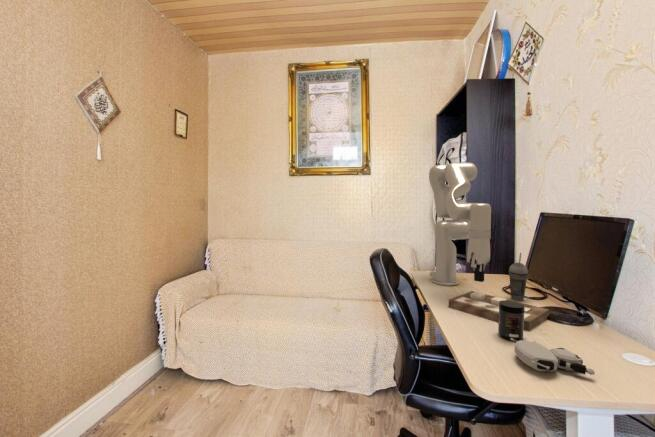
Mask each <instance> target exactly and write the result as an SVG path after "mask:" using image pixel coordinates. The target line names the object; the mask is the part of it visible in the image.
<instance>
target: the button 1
mask: <svg viewBox="0 0 655 437" xmlns="http://www.w3.org/2000/svg"><path fill="white" fill-rule="evenodd" d="M477 292H478V291H474V293H471V294H470V298H472V299H476V300H480V301H482V300H484V299H485V294H486V293H481V292H478V293H477Z"/></svg>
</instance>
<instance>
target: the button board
mask: <svg viewBox="0 0 655 437" xmlns="http://www.w3.org/2000/svg"><path fill="white" fill-rule="evenodd" d="M474 292H475V291H474V290H473V291H472V290H470V291H468V292H465V293H463V294H460V295H457V296H455V297H452V298H449V299H448V308H450V309H453V310H456V311H461V312H464V313H467V314H470V315H474V316H477V317H481V318H484V319H488V320H491V321H493V322H496V323H499V305H495V304H492V303H491V299H492V298H494V297H496V296H494V295H489V294H486V293H484V294H485V299H484V300H482V301H480V300H476V299H472V298H470V294H471V293H474ZM476 292H477V293H479V292H478V291H476ZM497 297H498V296H497ZM498 298H500V297H498ZM501 298H502V297H501ZM502 299H504V298H502ZM508 300H509V301H512V299H511V300H510V299H508ZM518 302H519V303H522V304H524V305H525V307H526V308H530V309H531V311H530V312H528V313H526V312H524V331H528V332H530V331H532V330H533V329H535V328H536V327H537V326H539V325H541V324H542V323H543V322H545V321H546V320H547V317H548V315H550V309H548V308H545V307H540V306H535V305H531V304H528V303H523V302H521V301H518Z"/></svg>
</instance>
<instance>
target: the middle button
mask: <svg viewBox="0 0 655 437" xmlns="http://www.w3.org/2000/svg"><path fill="white" fill-rule="evenodd" d="M502 300H508V299H507V298H503V299H502V297H499V298H498V296H495V297H494V298H492V299H491V303H492V304H495V305H499V301H502Z"/></svg>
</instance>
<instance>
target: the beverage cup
mask: <svg viewBox="0 0 655 437" xmlns="http://www.w3.org/2000/svg"><path fill="white" fill-rule="evenodd" d="M518 258H519V259H518V262H514V263H512V264H511V265H510V266H509V269H508V271H507V272H508V277H509V288H510V289H509V292H510V299H511V301H516V302H524V300H525V294H526V286H527V280H528V277H529V270H528V267H527V266H526V265H525V264H523V263H521V259H522V253H521V252H520V253H519V257H518Z"/></svg>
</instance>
